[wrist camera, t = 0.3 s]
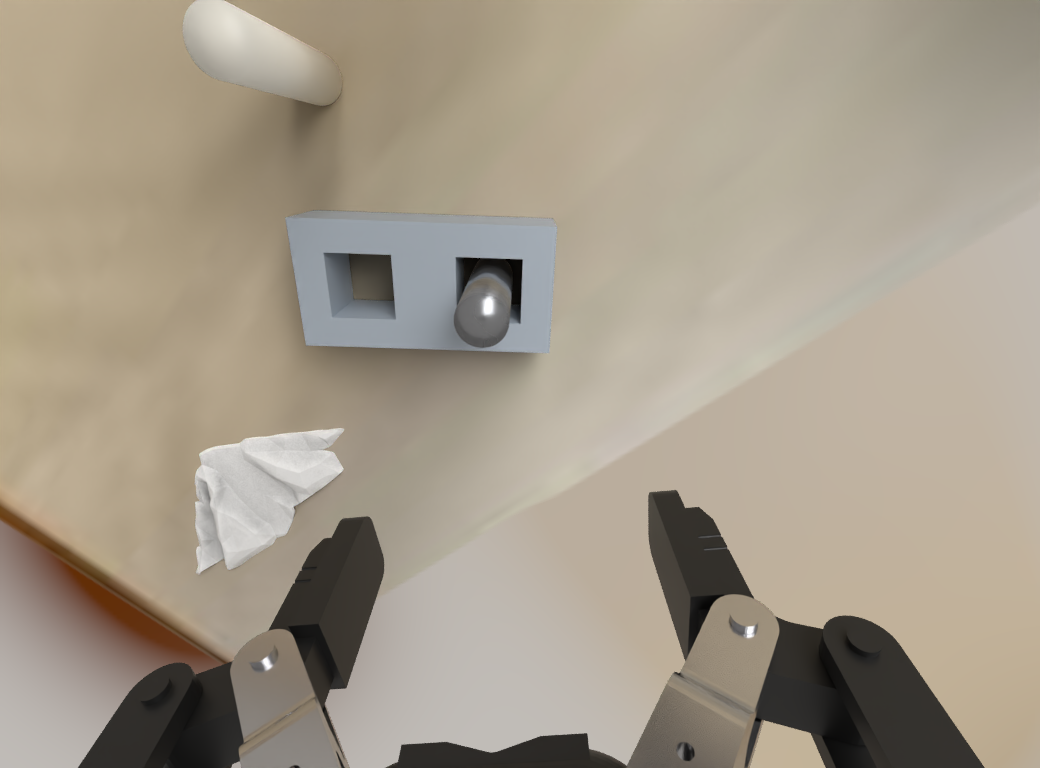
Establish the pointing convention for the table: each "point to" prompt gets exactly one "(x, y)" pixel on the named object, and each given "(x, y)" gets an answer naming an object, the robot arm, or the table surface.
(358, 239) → the hole block
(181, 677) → the robot arm
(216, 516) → the cloth
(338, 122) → the table surface
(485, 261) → the grey peg
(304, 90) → the cream peg
